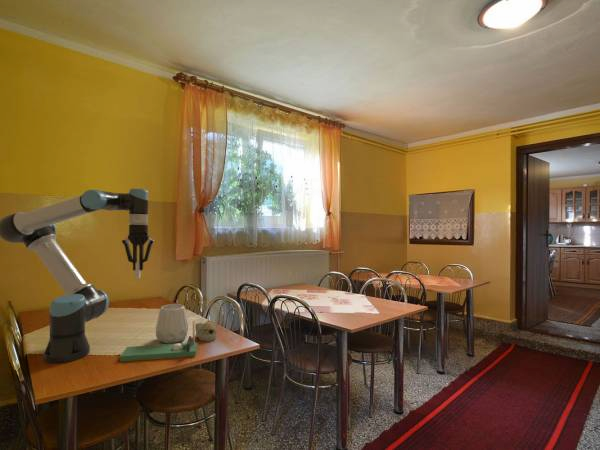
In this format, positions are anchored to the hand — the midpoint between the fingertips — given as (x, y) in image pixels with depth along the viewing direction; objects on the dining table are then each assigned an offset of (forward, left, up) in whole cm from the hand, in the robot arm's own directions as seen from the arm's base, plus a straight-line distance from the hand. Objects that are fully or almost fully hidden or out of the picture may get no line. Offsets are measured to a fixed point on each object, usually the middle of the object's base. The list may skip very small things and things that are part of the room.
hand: (137, 277), depth 148 cm
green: (+12, -13, -29) cm, 34 cm away
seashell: (+29, +4, -30) cm, 42 cm away
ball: (+17, -13, -29) cm, 36 cm away
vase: (+14, +4, -30) cm, 33 cm away
